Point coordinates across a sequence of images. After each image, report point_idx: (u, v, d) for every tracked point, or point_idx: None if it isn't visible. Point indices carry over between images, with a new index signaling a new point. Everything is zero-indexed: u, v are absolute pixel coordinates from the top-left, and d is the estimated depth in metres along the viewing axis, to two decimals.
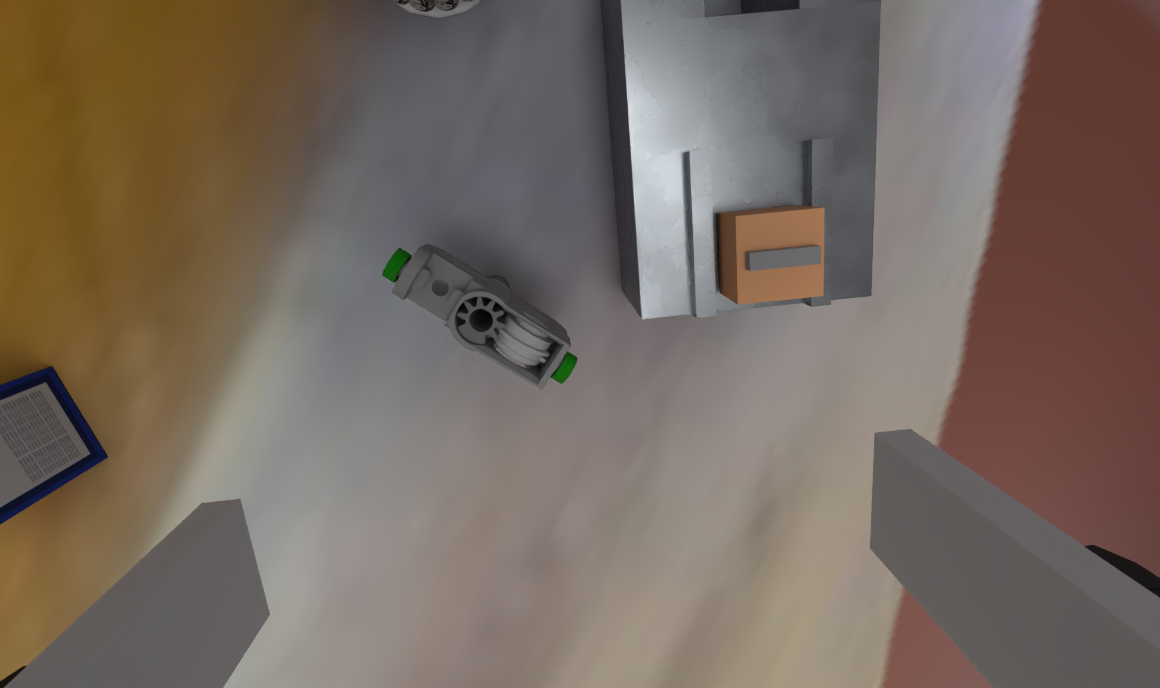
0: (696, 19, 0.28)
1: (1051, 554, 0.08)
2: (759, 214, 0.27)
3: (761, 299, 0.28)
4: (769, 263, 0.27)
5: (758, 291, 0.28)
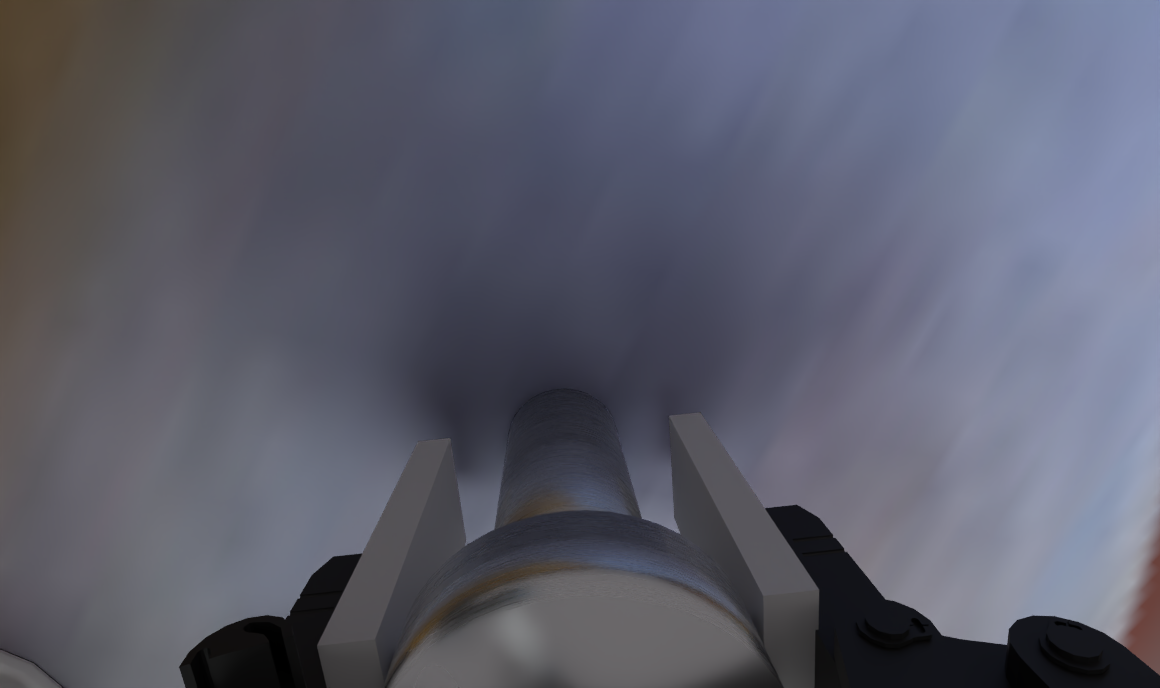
0: None
1: (730, 508, 0.10)
2: None
3: None
4: None
5: None
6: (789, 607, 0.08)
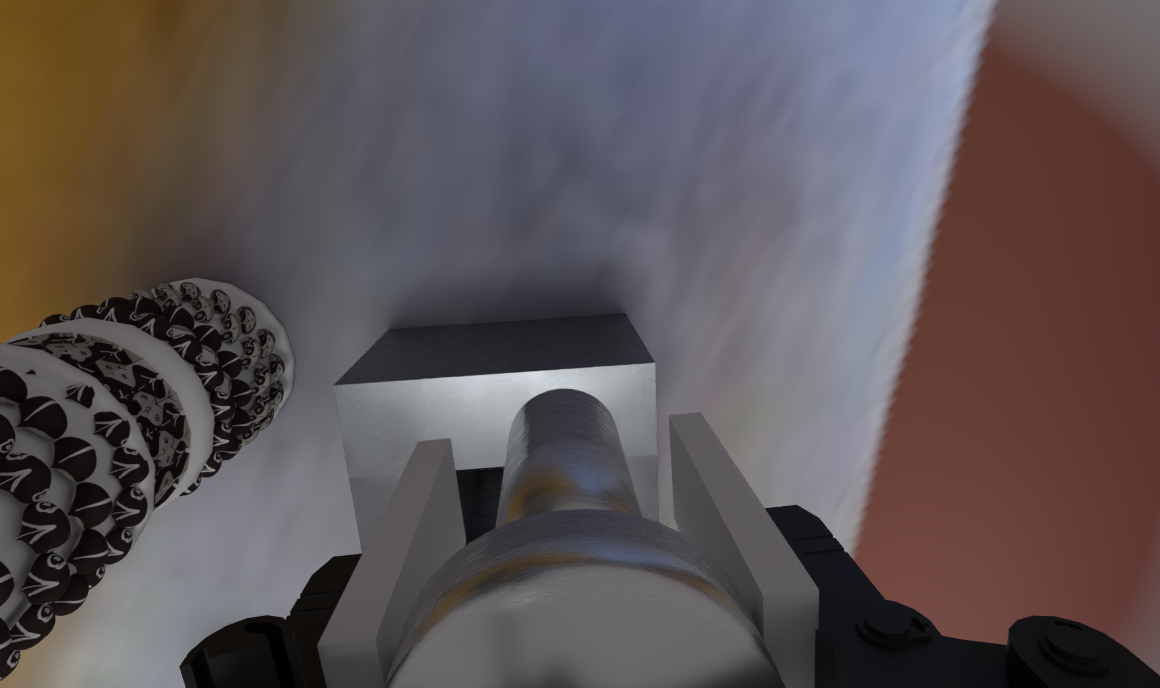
0: None
1: (730, 508, 0.10)
2: None
3: None
4: None
5: None
6: (789, 607, 0.08)
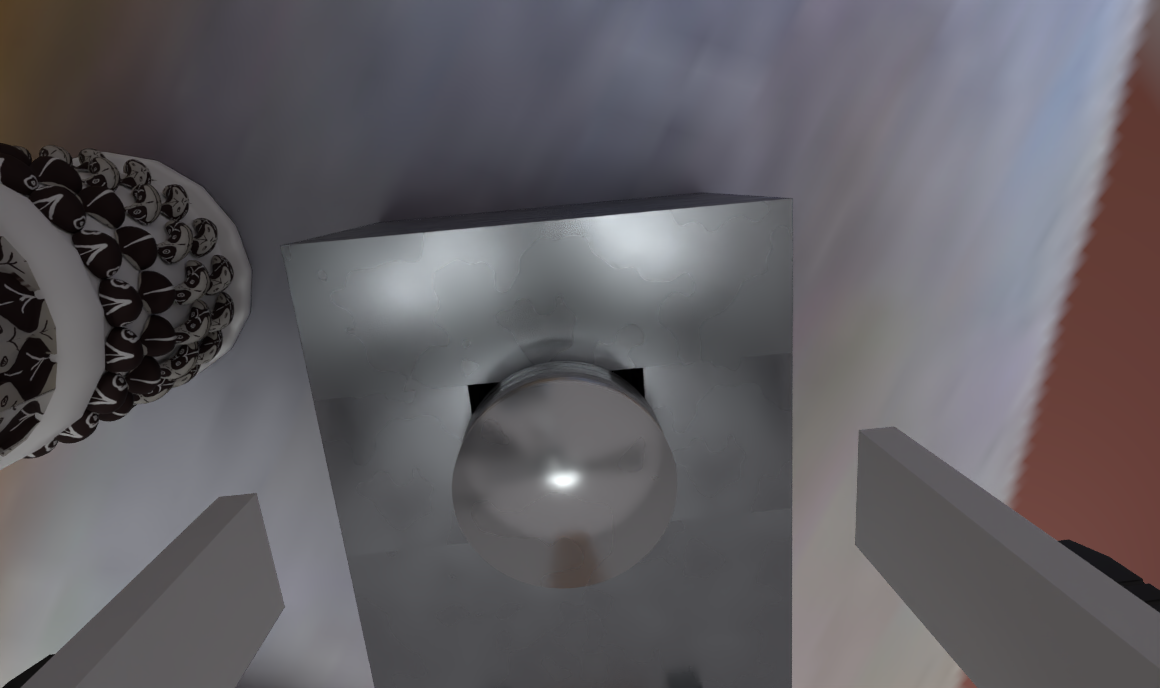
0: None
1: (1024, 548, 0.09)
2: None
3: None
4: None
5: None
6: None
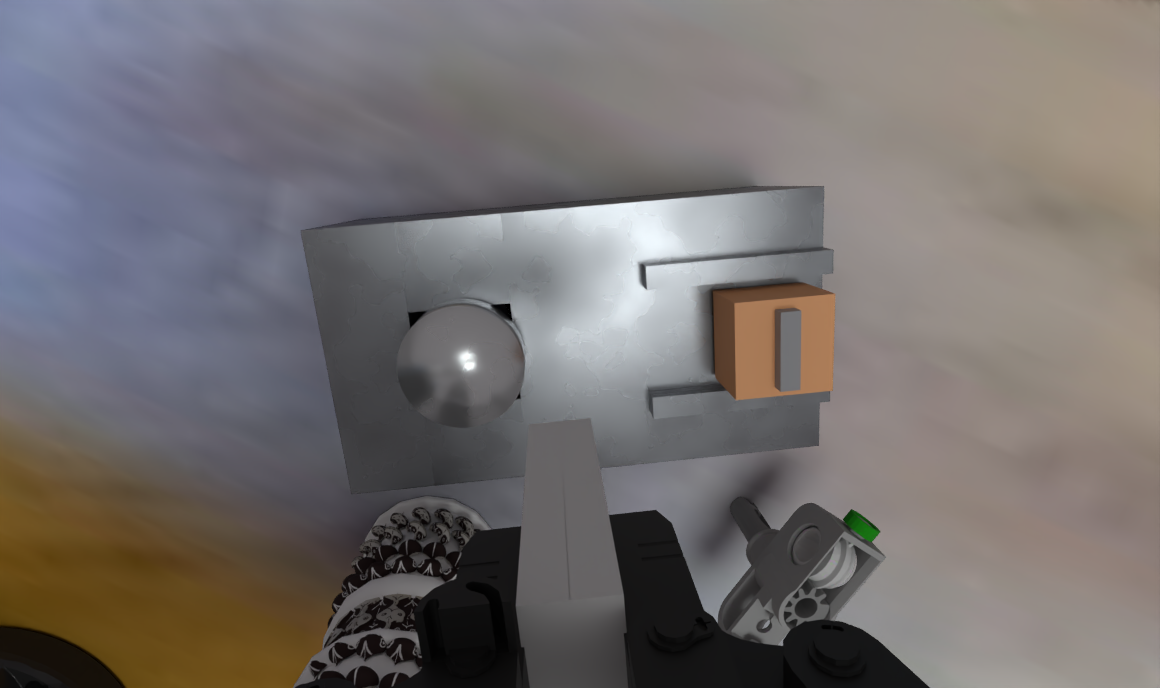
0: (523, 406, 0.28)
1: (576, 514, 0.11)
2: (736, 374, 0.25)
3: (830, 365, 0.25)
4: (794, 369, 0.24)
5: (820, 368, 0.25)
6: (596, 611, 0.08)
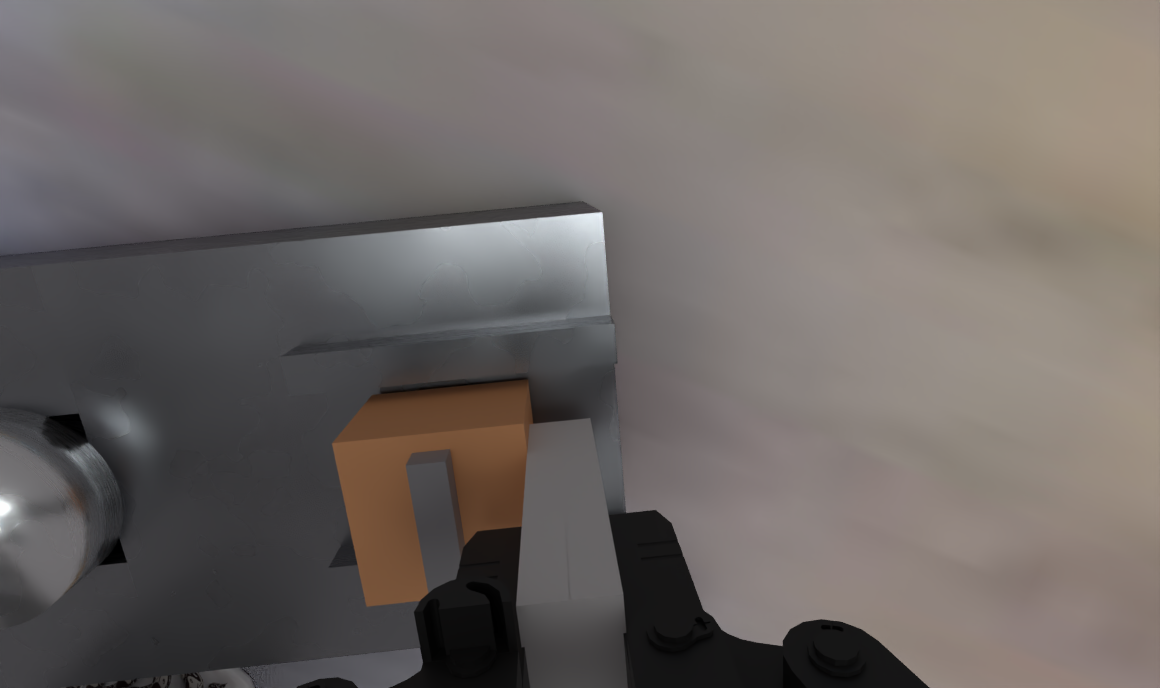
0: (133, 574, 0.17)
1: (576, 514, 0.11)
2: (359, 563, 0.14)
3: None
4: (449, 562, 0.13)
5: None
6: (595, 611, 0.08)
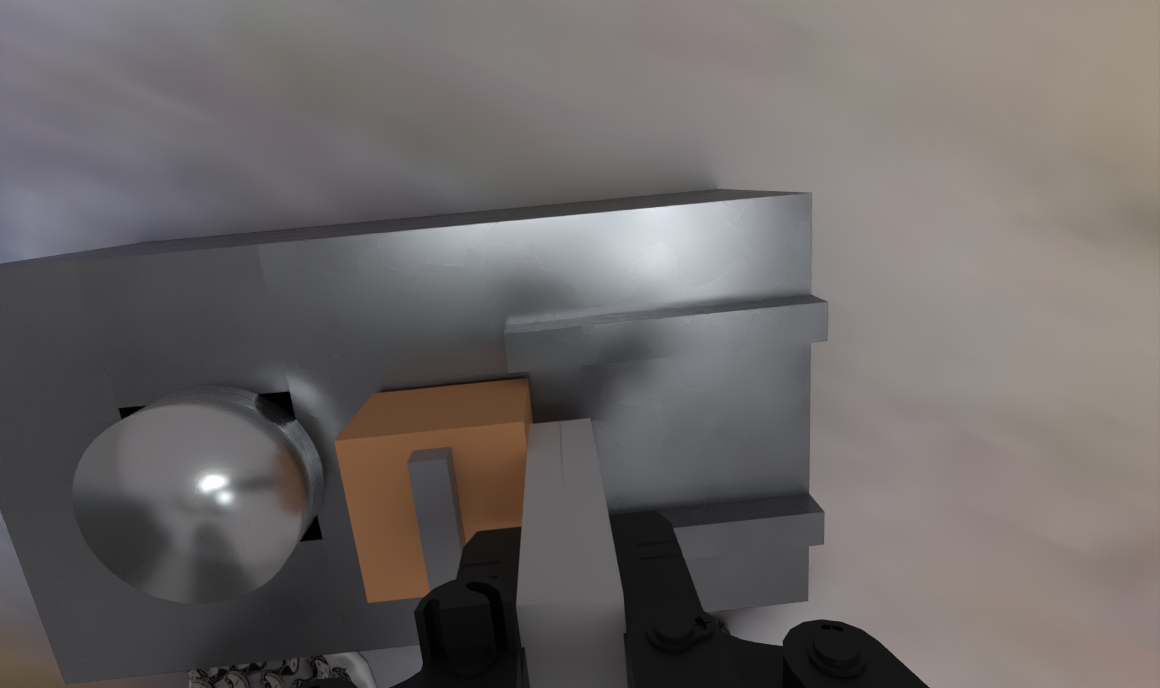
0: (327, 551, 0.17)
1: (576, 514, 0.11)
2: (361, 560, 0.14)
3: None
4: (450, 559, 0.13)
5: None
6: (595, 611, 0.08)
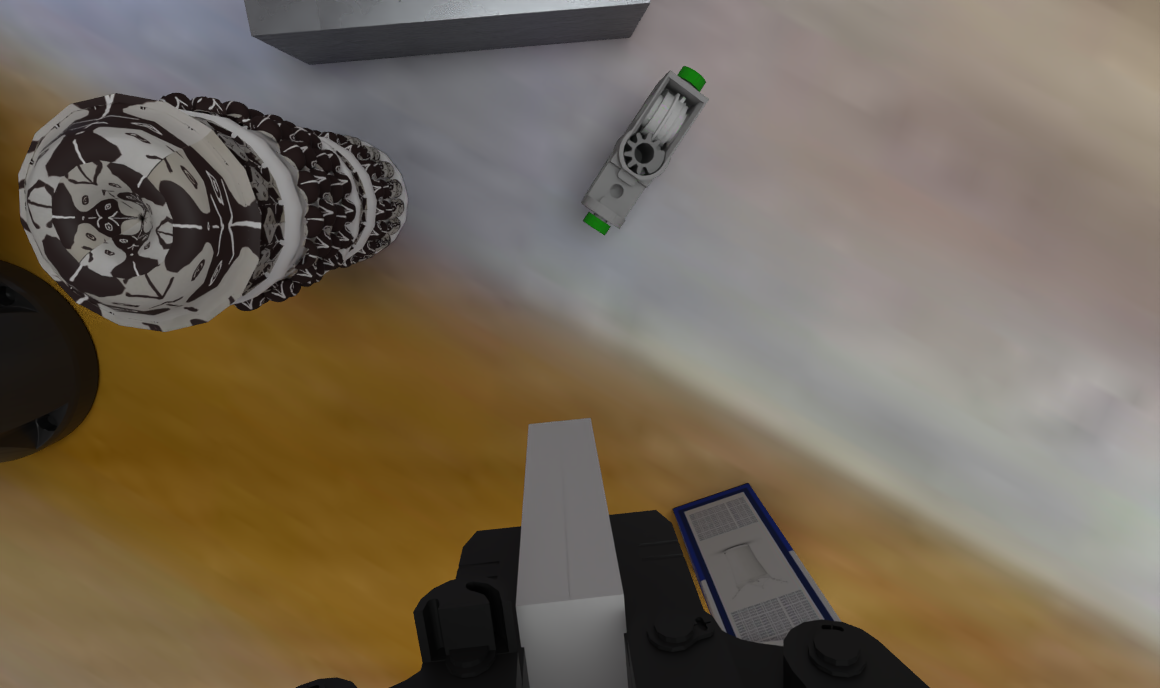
0: None
1: (576, 514, 0.11)
2: None
3: None
4: None
5: None
6: (596, 611, 0.08)
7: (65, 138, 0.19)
